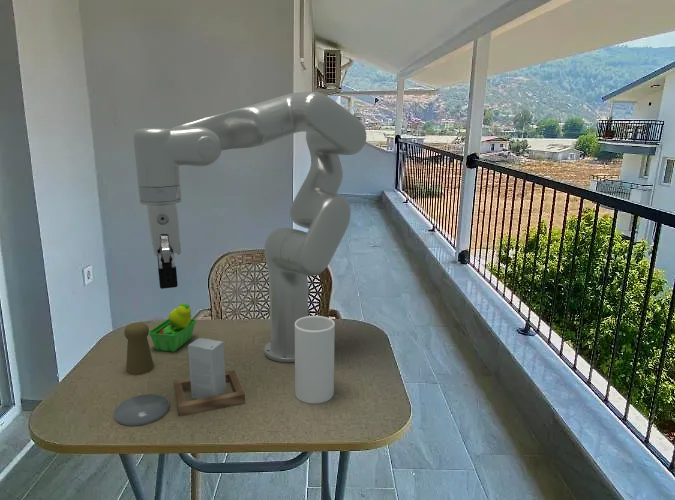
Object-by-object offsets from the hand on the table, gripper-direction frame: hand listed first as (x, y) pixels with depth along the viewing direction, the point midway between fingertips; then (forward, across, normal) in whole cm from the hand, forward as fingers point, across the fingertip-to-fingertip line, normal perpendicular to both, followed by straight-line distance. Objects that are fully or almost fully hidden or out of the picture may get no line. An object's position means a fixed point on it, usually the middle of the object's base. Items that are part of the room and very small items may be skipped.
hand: (168, 280), depth 96 cm
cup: (+26, -10, -27) cm, 39 cm away
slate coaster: (+25, -5, +7) cm, 26 cm away
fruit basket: (+25, +25, -1) cm, 36 cm away
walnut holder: (+25, -4, -6) cm, 26 cm away
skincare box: (+25, -4, -6) cm, 26 cm away
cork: (+25, +14, +8) cm, 30 cm away
